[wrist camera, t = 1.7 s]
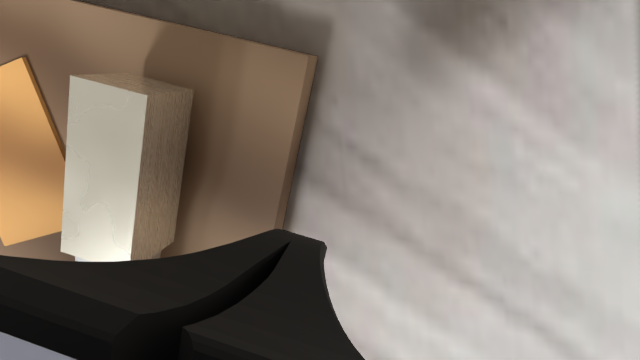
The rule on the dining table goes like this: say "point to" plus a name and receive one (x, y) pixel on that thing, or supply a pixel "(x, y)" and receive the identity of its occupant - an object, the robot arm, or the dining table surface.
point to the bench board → (163, 65)
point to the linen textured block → (123, 166)
